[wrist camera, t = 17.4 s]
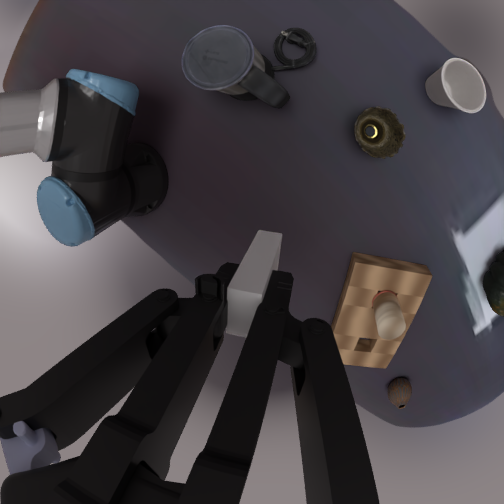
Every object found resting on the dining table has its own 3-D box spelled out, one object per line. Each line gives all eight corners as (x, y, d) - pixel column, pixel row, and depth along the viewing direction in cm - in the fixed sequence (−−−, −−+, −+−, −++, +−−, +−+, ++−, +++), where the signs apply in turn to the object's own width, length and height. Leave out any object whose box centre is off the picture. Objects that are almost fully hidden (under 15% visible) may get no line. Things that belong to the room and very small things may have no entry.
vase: (382, 382, 62) (384, 408, 54) (402, 370, 58) (407, 396, 51) (394, 391, 62) (396, 415, 55) (413, 380, 59) (418, 404, 52)
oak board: (323, 349, 60) (322, 361, 56) (352, 252, 48) (355, 262, 44) (383, 356, 57) (385, 368, 54) (426, 265, 45) (432, 275, 42)
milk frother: (213, 91, 41) (171, 82, 28) (244, 17, 33) (214, -18, 20) (290, 118, 40) (278, 114, 27) (323, 39, 32) (325, 4, 19)
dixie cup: (413, 66, 30) (435, 54, 22) (452, 70, 28) (480, 62, 19) (423, 112, 34) (448, 111, 25) (461, 114, 31) (490, 115, 22)
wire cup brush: (398, 141, 37) (414, 144, 30) (363, 160, 40) (372, 168, 33) (375, 102, 35) (387, 97, 28) (339, 122, 38) (344, 121, 32)
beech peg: (366, 299, 51) (373, 338, 41) (373, 278, 49) (383, 315, 39) (388, 302, 50) (399, 341, 40) (396, 281, 48) (410, 319, 38)
